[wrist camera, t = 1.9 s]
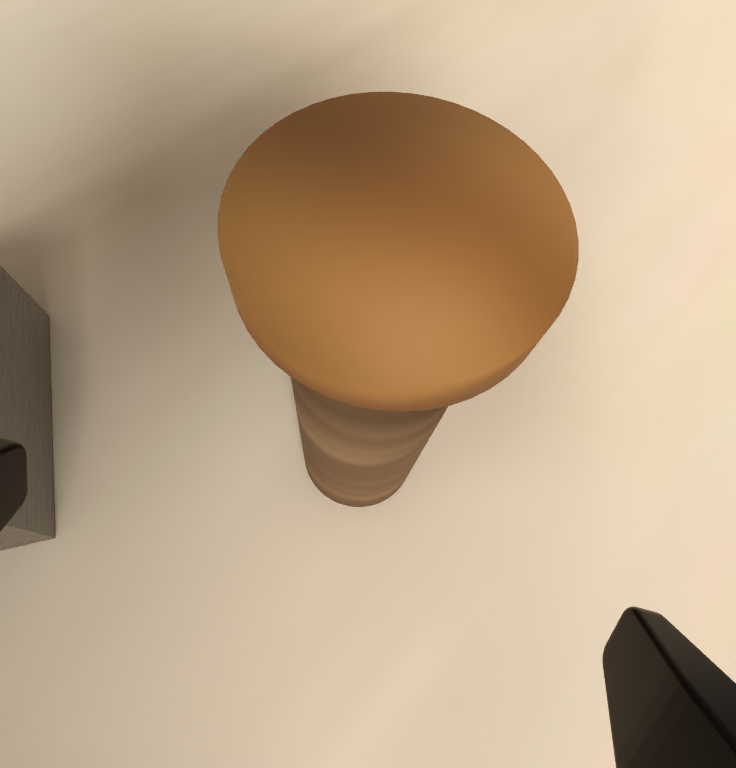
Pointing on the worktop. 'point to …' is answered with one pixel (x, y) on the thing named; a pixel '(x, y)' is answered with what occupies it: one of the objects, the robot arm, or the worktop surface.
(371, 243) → the pin
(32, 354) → the block
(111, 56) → the worktop surface
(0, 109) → the worktop surface
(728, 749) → the robot arm
